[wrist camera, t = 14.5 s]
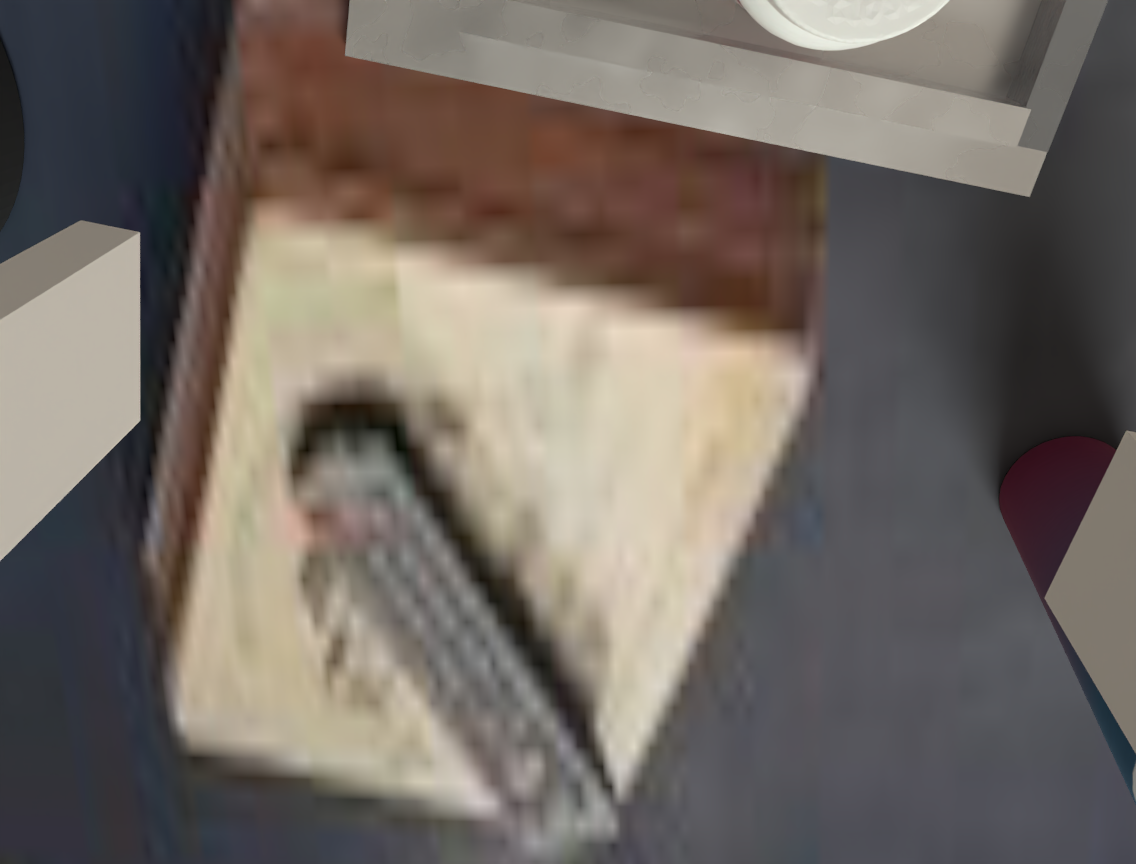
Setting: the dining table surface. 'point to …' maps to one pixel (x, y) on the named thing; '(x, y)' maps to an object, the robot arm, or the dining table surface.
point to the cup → (1061, 544)
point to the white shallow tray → (771, 73)
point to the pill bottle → (839, 20)
